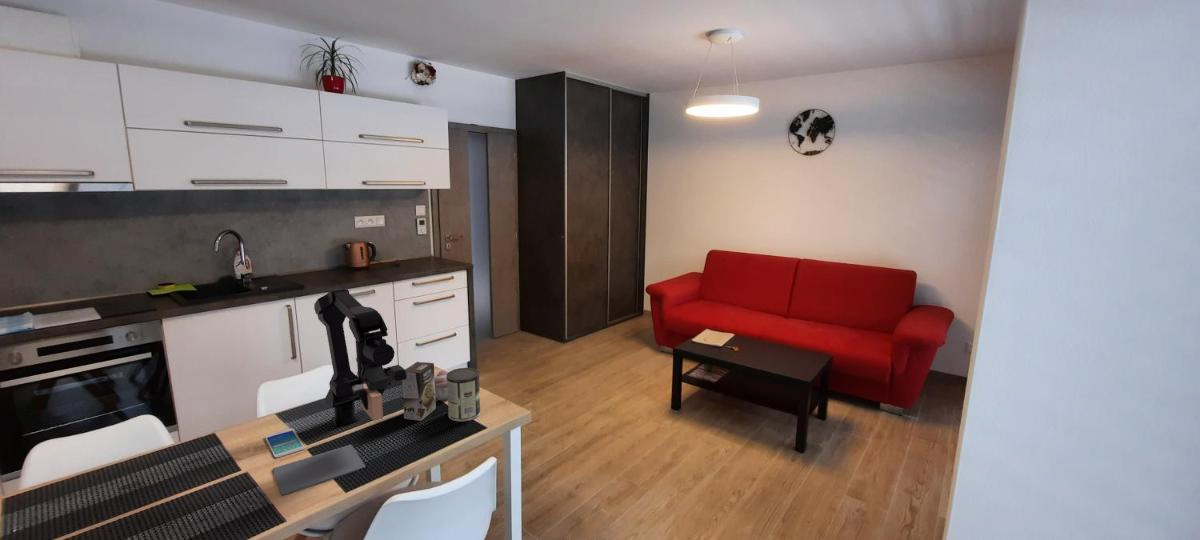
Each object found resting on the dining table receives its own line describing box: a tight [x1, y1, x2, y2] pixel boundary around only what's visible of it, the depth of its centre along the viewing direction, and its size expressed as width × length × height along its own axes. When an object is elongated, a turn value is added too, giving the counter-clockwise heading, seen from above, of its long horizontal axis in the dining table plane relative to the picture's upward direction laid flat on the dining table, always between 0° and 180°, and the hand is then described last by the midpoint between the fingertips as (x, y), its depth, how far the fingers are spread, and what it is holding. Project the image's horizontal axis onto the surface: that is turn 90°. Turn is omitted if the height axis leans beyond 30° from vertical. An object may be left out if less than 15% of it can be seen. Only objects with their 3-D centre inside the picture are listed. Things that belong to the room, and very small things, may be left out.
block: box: [361, 384, 384, 422], centre depth 139 cm, size 10×2×7 cm, turn 42°
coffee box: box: [401, 361, 437, 422], centre depth 159 cm, size 9×6×16 cm
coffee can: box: [446, 367, 481, 423], centre depth 160 cm, size 10×10×14 cm
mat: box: [272, 444, 367, 497], centre depth 130 cm, size 14×19×1 cm
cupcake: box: [434, 369, 449, 401], centre depth 173 cm, size 9×9×10 cm
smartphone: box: [264, 427, 306, 459], centre depth 142 cm, size 8×1×15 cm
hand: (371, 407), depth 140 cm, fingers closed on block, 2 cm apart
